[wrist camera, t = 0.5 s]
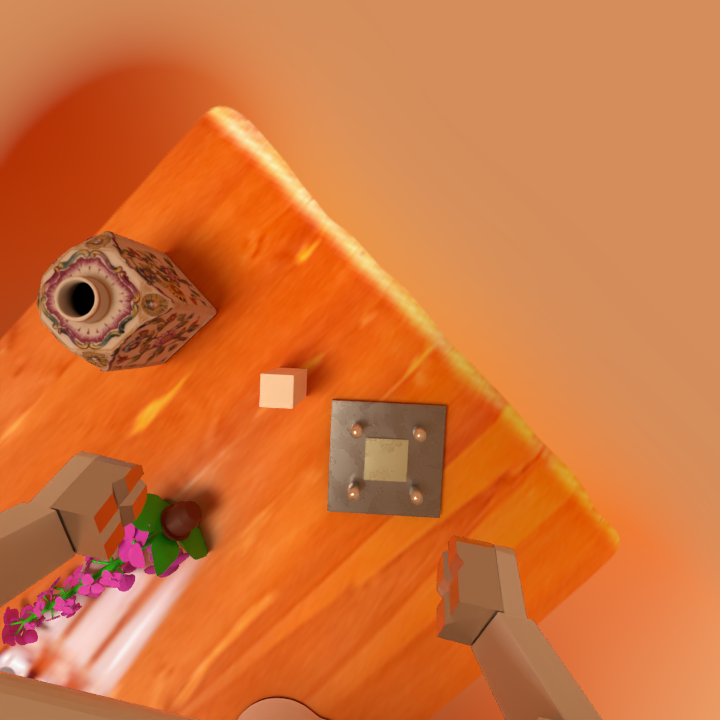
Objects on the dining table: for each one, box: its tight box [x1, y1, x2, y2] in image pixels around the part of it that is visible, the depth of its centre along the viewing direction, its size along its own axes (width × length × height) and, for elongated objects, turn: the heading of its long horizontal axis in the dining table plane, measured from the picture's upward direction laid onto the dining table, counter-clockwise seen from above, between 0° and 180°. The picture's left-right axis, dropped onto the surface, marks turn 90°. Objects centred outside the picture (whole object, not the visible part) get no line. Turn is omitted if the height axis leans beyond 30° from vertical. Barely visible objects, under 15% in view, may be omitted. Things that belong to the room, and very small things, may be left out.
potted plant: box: [2, 493, 208, 646], centre depth 59 cm, size 12×16×35 cm
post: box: [260, 367, 307, 409], centre depth 55 cm, size 4×4×10 cm
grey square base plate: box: [328, 399, 446, 518], centre depth 58 cm, size 16×16×4 cm
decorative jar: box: [37, 231, 217, 371], centre depth 51 cm, size 12×12×18 cm
